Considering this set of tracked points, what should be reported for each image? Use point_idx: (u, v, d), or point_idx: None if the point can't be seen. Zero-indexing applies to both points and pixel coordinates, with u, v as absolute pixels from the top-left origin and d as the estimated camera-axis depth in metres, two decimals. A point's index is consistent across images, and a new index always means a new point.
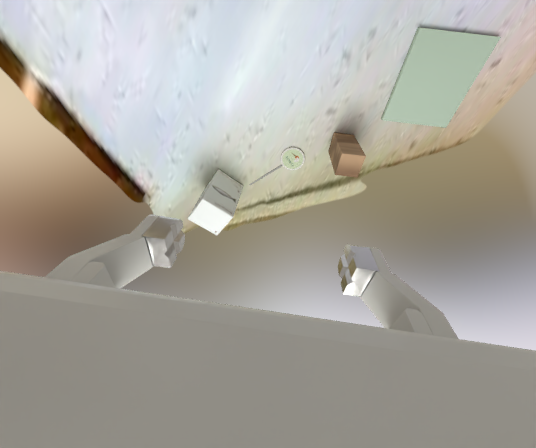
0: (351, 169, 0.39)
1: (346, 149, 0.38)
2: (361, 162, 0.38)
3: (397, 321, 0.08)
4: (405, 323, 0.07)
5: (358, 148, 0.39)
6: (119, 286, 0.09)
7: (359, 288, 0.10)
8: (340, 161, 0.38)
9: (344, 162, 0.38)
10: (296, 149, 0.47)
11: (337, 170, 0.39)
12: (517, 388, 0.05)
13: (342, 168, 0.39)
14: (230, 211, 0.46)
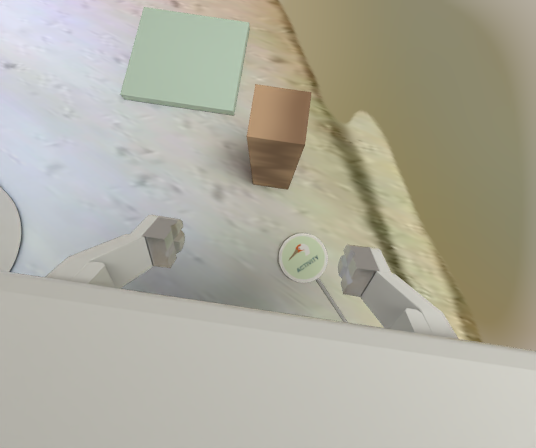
0: (290, 108, 0.15)
1: None
2: (271, 90, 0.16)
3: (397, 321, 0.08)
4: (405, 323, 0.07)
5: None
6: (119, 286, 0.09)
7: (359, 288, 0.10)
8: (269, 137, 0.15)
9: (270, 127, 0.15)
10: (282, 250, 0.23)
11: (292, 140, 0.15)
12: (517, 388, 0.05)
13: (287, 129, 0.15)
14: None
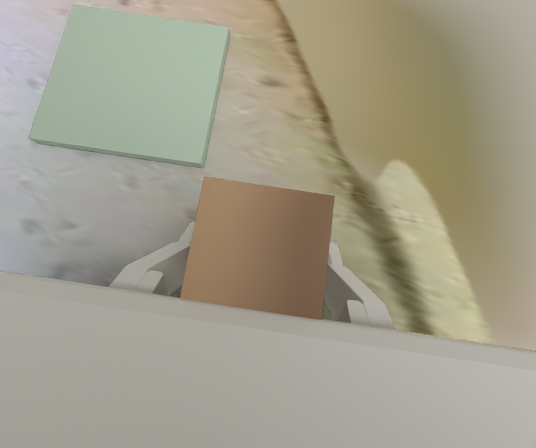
0: (285, 237, 0.06)
1: None
2: (240, 191, 0.07)
3: (341, 313, 0.08)
4: (346, 314, 0.07)
5: None
6: (168, 293, 0.09)
7: None
8: None
9: (236, 288, 0.06)
10: None
11: None
12: (517, 388, 0.05)
13: (276, 294, 0.06)
14: None
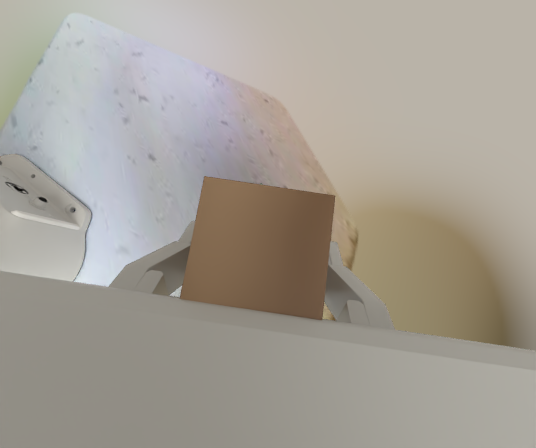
0: (285, 237, 0.06)
1: None
2: (241, 191, 0.07)
3: (341, 313, 0.08)
4: (346, 314, 0.07)
5: None
6: (168, 293, 0.09)
7: None
8: None
9: (236, 288, 0.06)
10: None
11: None
12: (517, 389, 0.05)
13: (276, 294, 0.06)
14: None
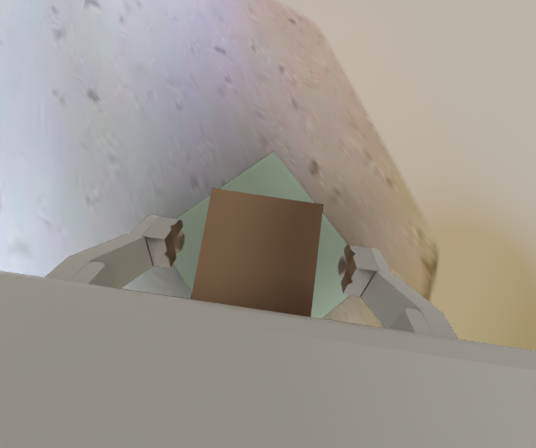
0: (281, 240, 0.08)
1: None
2: (243, 200, 0.08)
3: (397, 321, 0.08)
4: (405, 323, 0.07)
5: None
6: (119, 286, 0.09)
7: (359, 288, 0.10)
8: (236, 305, 0.07)
9: (240, 283, 0.07)
10: None
11: (285, 312, 0.07)
12: (517, 388, 0.05)
13: (273, 287, 0.07)
14: None
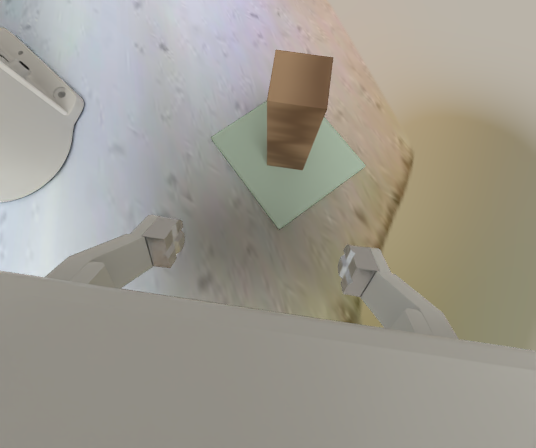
0: (311, 73, 0.15)
1: None
2: (291, 55, 0.15)
3: (397, 321, 0.08)
4: (405, 323, 0.07)
5: None
6: (119, 286, 0.09)
7: (359, 288, 0.10)
8: (290, 101, 0.15)
9: (291, 92, 0.15)
10: None
11: (314, 105, 0.15)
12: (517, 388, 0.05)
13: (308, 94, 0.15)
14: None
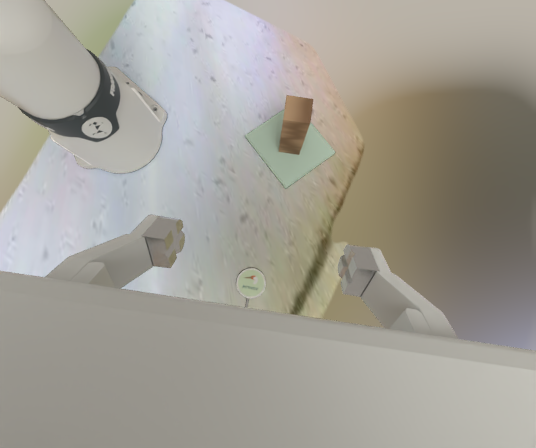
0: (303, 106, 0.33)
1: None
2: (294, 98, 0.33)
3: (397, 321, 0.08)
4: (405, 323, 0.07)
5: None
6: (119, 286, 0.09)
7: (359, 288, 0.10)
8: (293, 120, 0.32)
9: (294, 115, 0.32)
10: (245, 270, 0.39)
11: (304, 121, 0.32)
12: (517, 389, 0.05)
13: (301, 116, 0.32)
14: None
